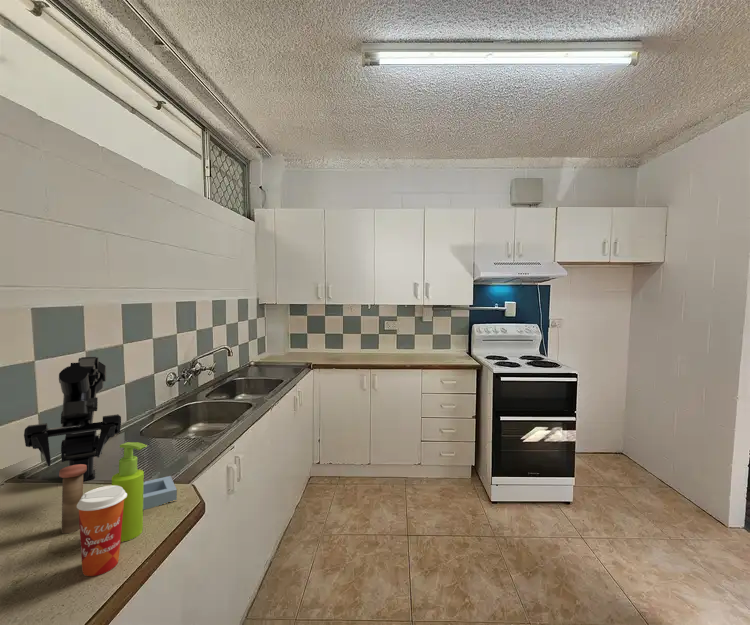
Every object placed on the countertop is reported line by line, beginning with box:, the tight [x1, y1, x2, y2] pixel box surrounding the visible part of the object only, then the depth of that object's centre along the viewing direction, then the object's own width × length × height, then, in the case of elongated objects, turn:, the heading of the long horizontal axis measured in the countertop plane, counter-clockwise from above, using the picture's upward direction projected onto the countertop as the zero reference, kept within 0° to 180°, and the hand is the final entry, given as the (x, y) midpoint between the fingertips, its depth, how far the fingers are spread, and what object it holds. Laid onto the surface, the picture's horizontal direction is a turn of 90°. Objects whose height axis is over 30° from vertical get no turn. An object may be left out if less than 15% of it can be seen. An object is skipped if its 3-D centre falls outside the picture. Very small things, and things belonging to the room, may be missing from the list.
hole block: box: [143, 475, 178, 511], centre depth 97 cm, size 10×10×3 cm
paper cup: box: [77, 484, 127, 577], centre depth 71 cm, size 8×8×14 cm
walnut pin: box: [58, 464, 87, 534], centre depth 83 cm, size 5×5×14 cm
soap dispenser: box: [111, 441, 148, 543], centre depth 81 cm, size 6×7×20 cm
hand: (74, 461), depth 89 cm, fingers open, 9 cm apart
